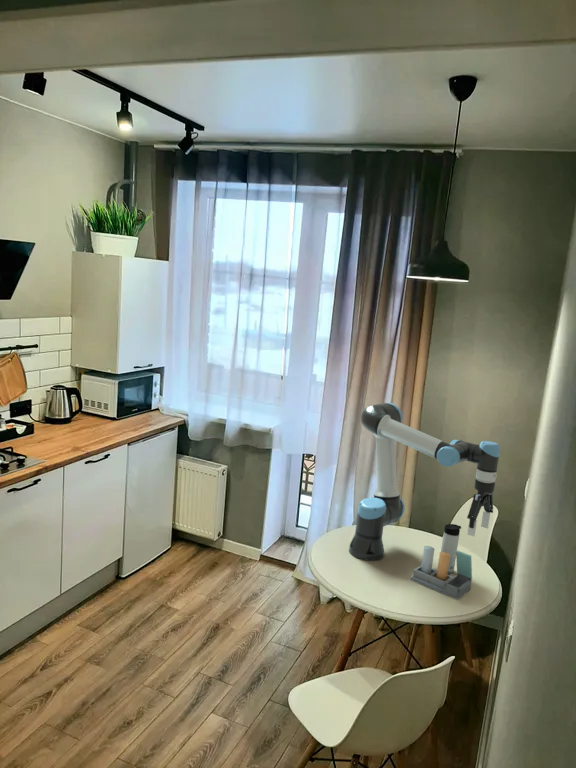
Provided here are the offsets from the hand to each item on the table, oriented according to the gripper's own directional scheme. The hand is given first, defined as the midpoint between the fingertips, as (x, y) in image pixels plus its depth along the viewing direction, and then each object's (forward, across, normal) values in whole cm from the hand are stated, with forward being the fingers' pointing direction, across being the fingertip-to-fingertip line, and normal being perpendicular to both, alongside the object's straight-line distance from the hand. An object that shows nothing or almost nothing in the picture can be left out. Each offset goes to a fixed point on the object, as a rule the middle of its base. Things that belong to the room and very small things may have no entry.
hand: (477, 531), depth 230 cm
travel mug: (+21, 0, +11) cm, 24 cm away
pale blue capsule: (+21, -14, +13) cm, 29 cm away
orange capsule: (+20, -14, +7) cm, 25 cm away
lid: (+12, -10, 0) cm, 16 cm away
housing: (+21, -14, +7) cm, 26 cm away
